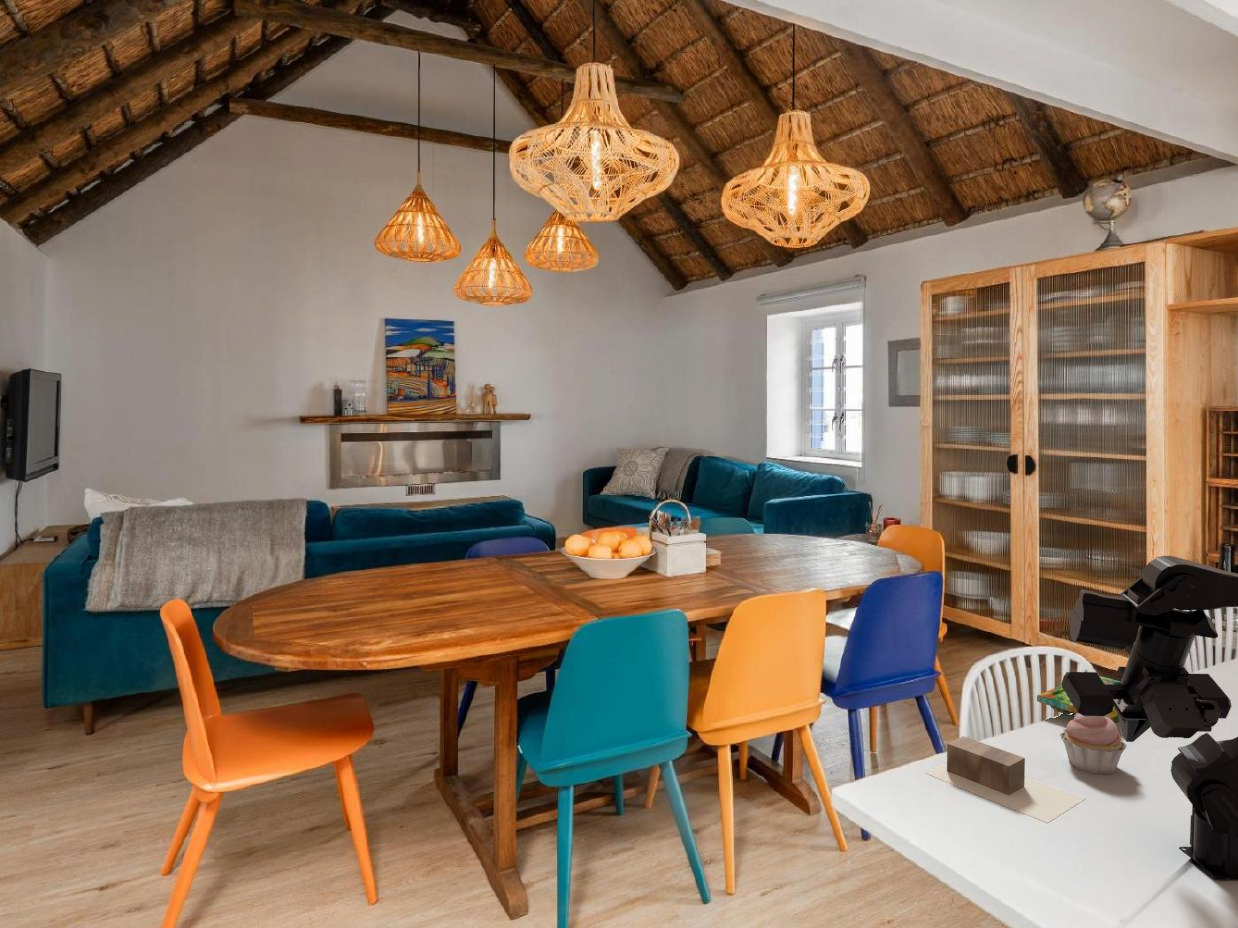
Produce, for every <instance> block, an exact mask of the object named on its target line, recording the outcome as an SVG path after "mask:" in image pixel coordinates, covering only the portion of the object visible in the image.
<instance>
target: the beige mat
mask: <svg viewBox="0 0 1238 928" xmlns="http://www.w3.org/2000/svg"><path fill="white" fill-rule="evenodd" d="M925 775H929V776H931V777H933V778H935V779H938V780H941V781H943V782H945V783H948V784H951V785H952V786H956V787H957V788H960V789H963V790H965V791H968V792H969V793H970V792H971V793H972V794H974V795H977V796H980V797H982V798H985V799H988V800H990V801H992V802H994V803H997V804H999V805H1002V806H1004V807H1007V808H1008V809H1012V810H1014V811H1017V812H1019V813H1021V814H1024V815H1026V816H1028V817H1031V818H1034V819H1036V820H1038V821H1041V822H1043V823H1046V824H1049V823H1050V822H1052V821H1053V820H1055V819H1057V818H1058V817H1060V816H1061V815H1064V814H1065V813H1066V812H1068V811H1069V810H1071V809H1072V808H1075V807H1076V806H1077V805H1079V804H1080V803H1081V802H1083V801H1084V800H1086V798H1083V797H1081V796H1078V795H1075V794H1072V793H1070V792H1067V791H1065V790H1062V789H1059V788H1057V787H1054V786H1051V785H1049V784H1046V783H1043V782H1041V781H1038V780H1036V779H1035V780H1034V779H1032V778H1029V777H1027V776H1025V779H1024V787H1023V788H1021V789H1019V790H1018V791H1016V792H1014V793H1012V794H1011V795H1009V796H1008V795H1006V794H1003V793H1001V792H998V791H996V790H993V789H991V788H988V787H986V786H983V785H981V784H978V783H976V782H973V781H971V780H968V779H966V778H963V777H961V776H958V775H956V774H953V773H951V772H948V771H947V761H946V762H945V763H942V764H941V765H938V766H935V768H931V769H930V770H928V771H926V772H925Z"/></svg>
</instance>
